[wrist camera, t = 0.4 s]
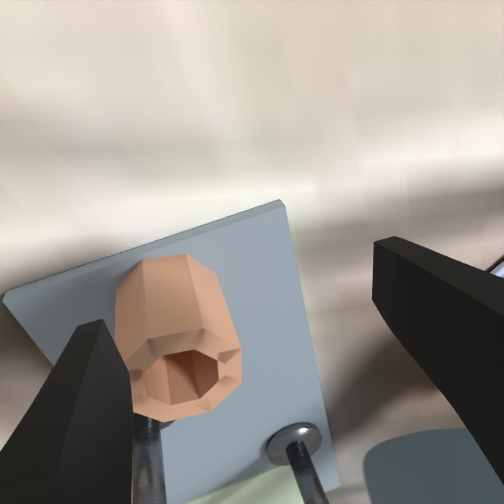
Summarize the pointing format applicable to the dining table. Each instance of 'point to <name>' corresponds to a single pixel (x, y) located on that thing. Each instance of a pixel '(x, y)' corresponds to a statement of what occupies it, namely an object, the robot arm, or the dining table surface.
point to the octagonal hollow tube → (176, 338)
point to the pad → (257, 489)
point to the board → (248, 332)
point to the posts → (277, 448)
